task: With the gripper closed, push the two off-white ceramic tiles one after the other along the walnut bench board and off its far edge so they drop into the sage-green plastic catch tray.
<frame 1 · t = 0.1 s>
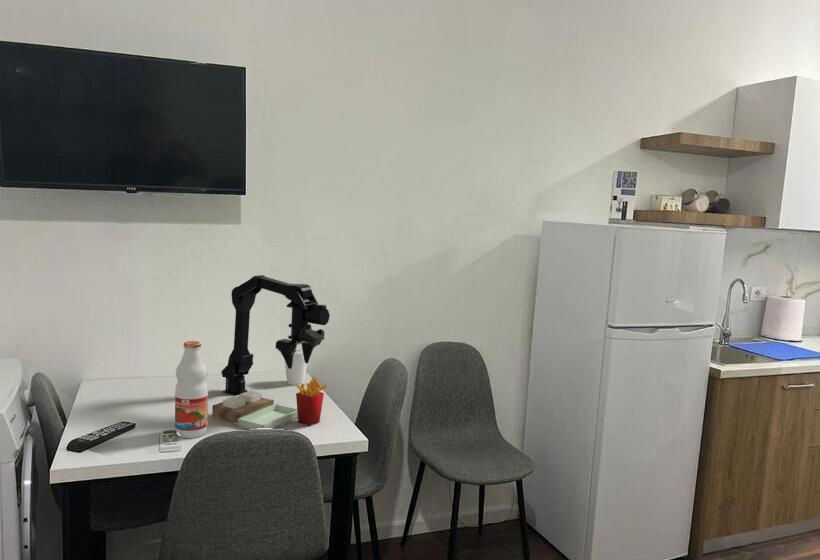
hand: (298, 365, 228), 15 cm above the table, fingers open, 9 cm apart
french fries: (312, 423, 215), on the table
foam cup: (295, 383, 259), on the table
bench board: (243, 414, 219), on the table
fruit juice: (191, 433, 200), on the table
tile b: (234, 405, 215), point 4 cm above the table, touching bench board
catch tray: (270, 421, 214), on the table
tile a: (250, 399, 222), point 4 cm above the table, touching bench board
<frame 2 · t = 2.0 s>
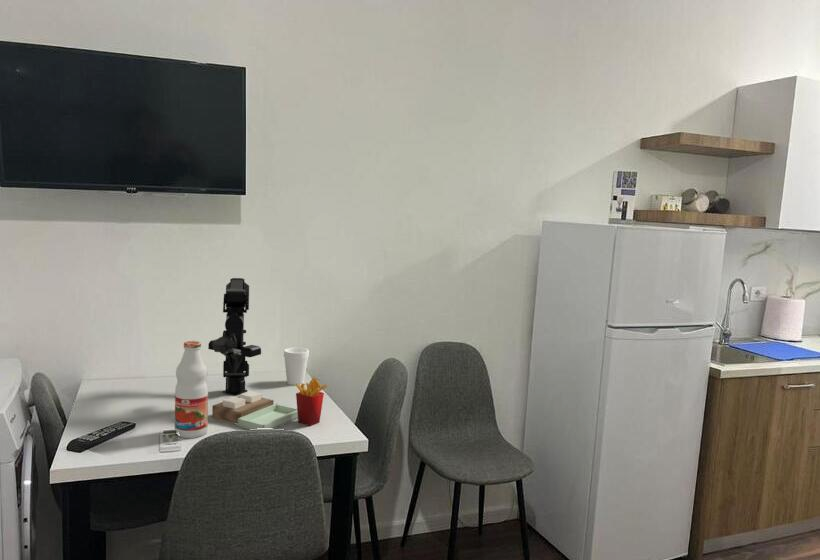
hand: (234, 372, 225), 12 cm above the table, fingers closed
nothing on the table moved.
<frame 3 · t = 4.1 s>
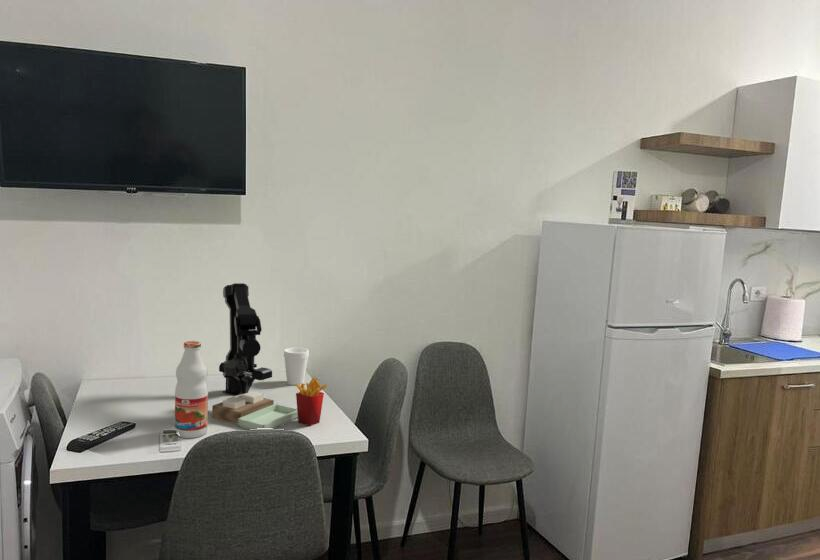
hand: (244, 395, 223), 5 cm above the table, fingers closed
nothing on the table moved.
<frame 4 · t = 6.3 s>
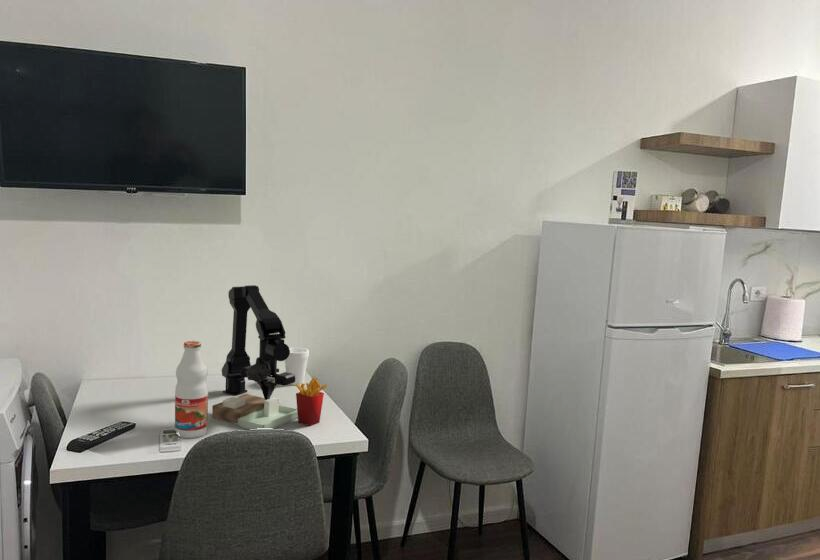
hand: (267, 400, 219), 5 cm above the table, fingers closed
tile a: (269, 406, 219), point 3 cm above the table, tilted 91°, touching catch tray, gripper
everything else where it was.
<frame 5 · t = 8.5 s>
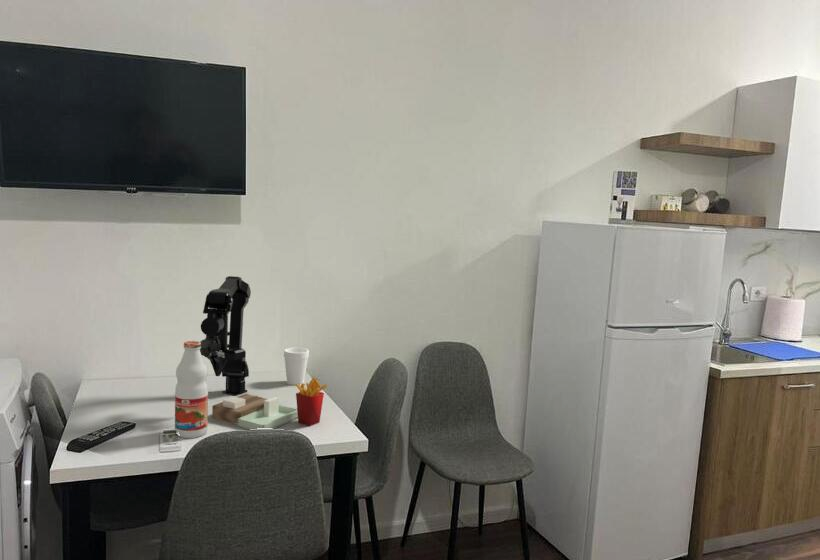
hand: (217, 376, 218), 13 cm above the table, fingers closed
tile a: (268, 406, 219), point 3 cm above the table, tilted 90°, touching catch tray
everything else where it was.
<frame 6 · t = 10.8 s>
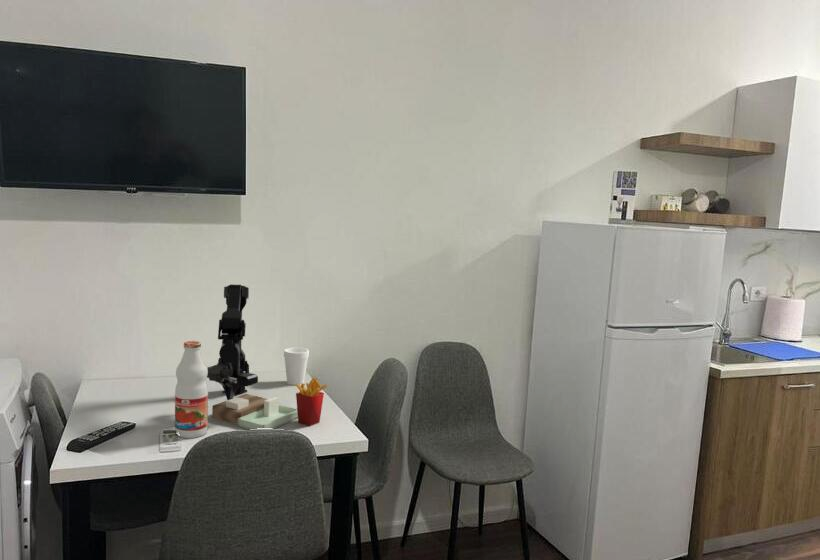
hand: (229, 401, 216), 5 cm above the table, fingers closed
tile b: (237, 406, 215), point 4 cm above the table, touching gripper
everything else where it was.
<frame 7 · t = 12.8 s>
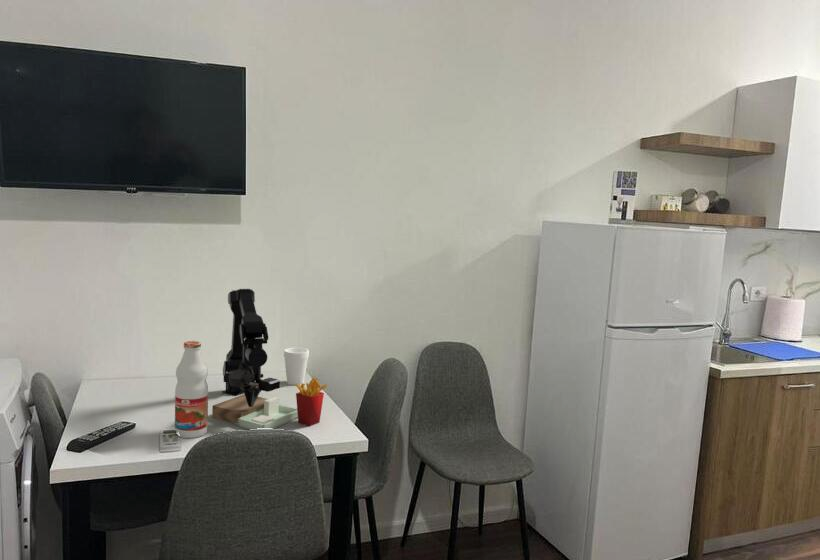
hand: (250, 406, 212), 5 cm above the table, fingers closed
tile b: (262, 418, 209), point 3 cm above the table, tilted 180°, touching catch tray
everything else where it was.
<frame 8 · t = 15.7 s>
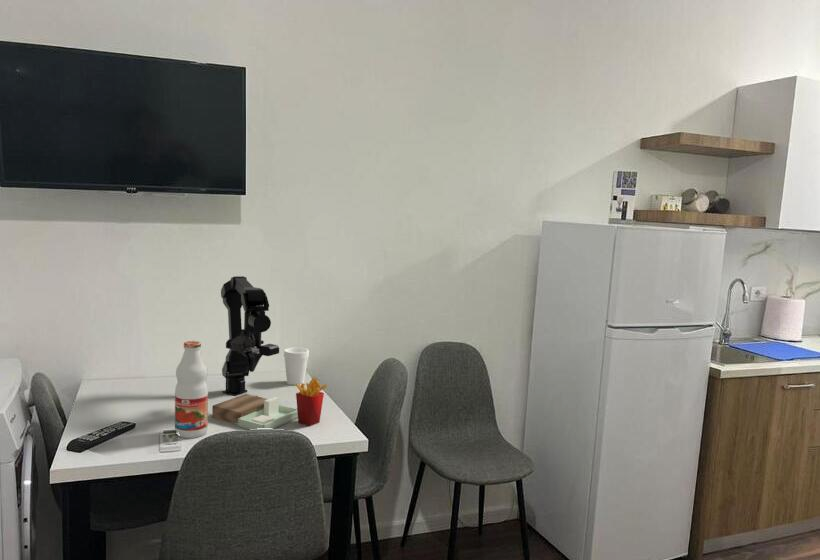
hand: (251, 371, 224), 13 cm above the table, fingers closed
nothing on the table moved.
at the end: tile a inside the target area on the catch tray (6.2 cm from its centre), point 3.1 cm above the catch tray's base; tile b inside the target area on the catch tray (5.2 cm from its centre), point 2.6 cm above the catch tray's base; tile b touching catch tray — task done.
